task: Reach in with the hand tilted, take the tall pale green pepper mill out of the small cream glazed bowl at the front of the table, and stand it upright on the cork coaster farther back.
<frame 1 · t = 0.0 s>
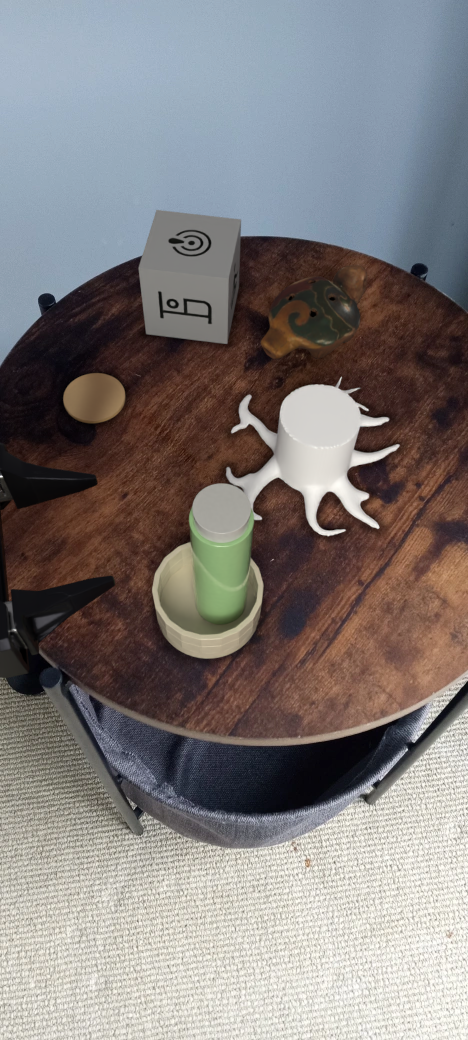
hand: (105, 528, 56), 16 cm above the table, tool horizontal, fingers open, 9 cm apart
coaster: (94, 399, 82), on the table
ocarina: (311, 340, 88), on the table
icon cube: (193, 311, 90), on the table
tree stump: (308, 460, 79), on the table
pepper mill: (220, 600, 68), point 1 cm above the table, touching bowl
bowl: (208, 609, 70), on the table
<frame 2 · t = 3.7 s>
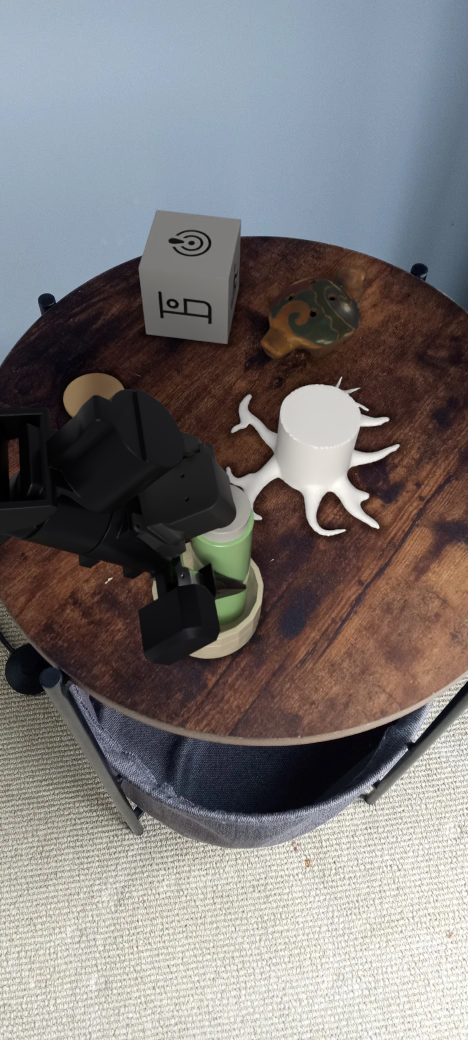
hand: (236, 562, 62), 9 cm above the table, tool tilted 45°, fingers closed on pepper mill, 5 cm apart
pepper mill: (220, 600, 68), point 2 cm above the table, touching bowl, gripper
everything else where it was.
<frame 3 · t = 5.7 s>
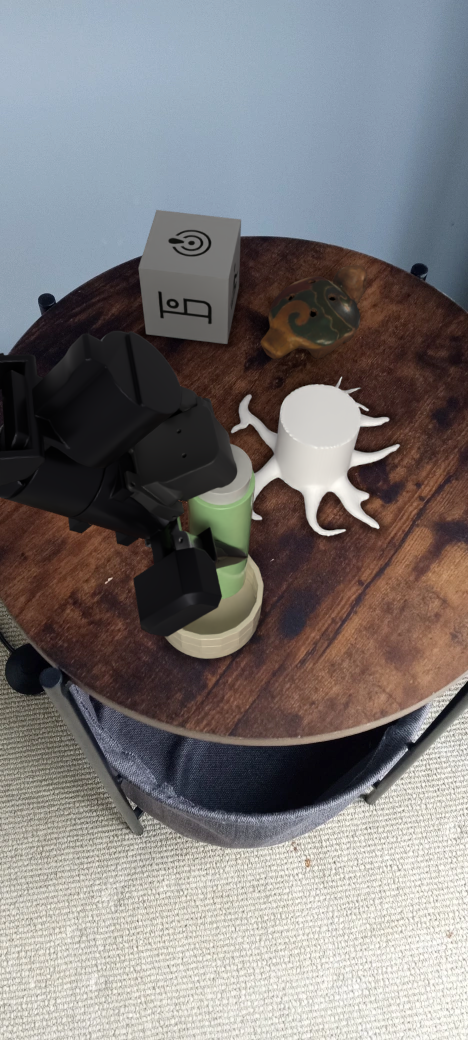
hand: (236, 530, 59), 13 cm above the table, tool tilted 45°, fingers closed on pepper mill, 5 cm apart
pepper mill: (218, 574, 65), point 6 cm above the table, touching gripper
everything else where it was.
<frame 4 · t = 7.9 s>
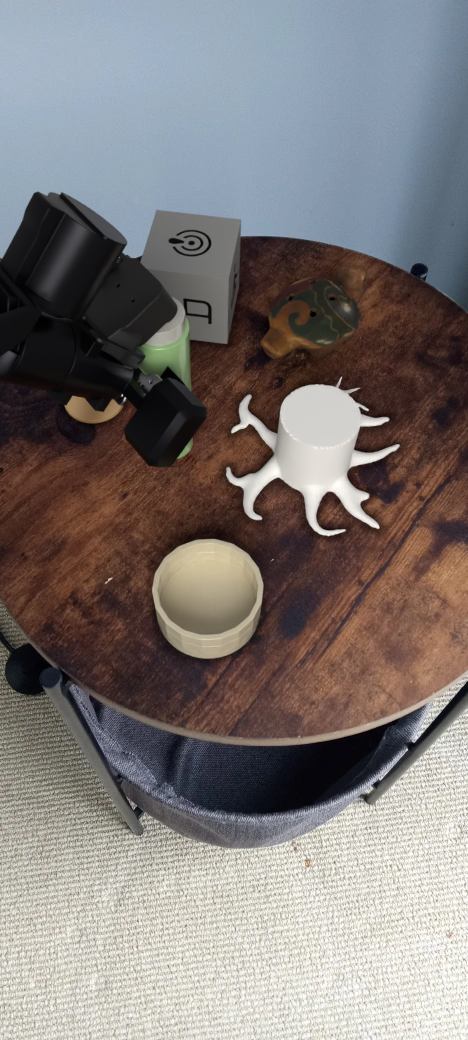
hand: (176, 384, 66), 13 cm above the table, tool tilted 45°, fingers closed on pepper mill, 5 cm apart
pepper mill: (168, 440, 72), point 6 cm above the table, touching gripper
everything else where it was.
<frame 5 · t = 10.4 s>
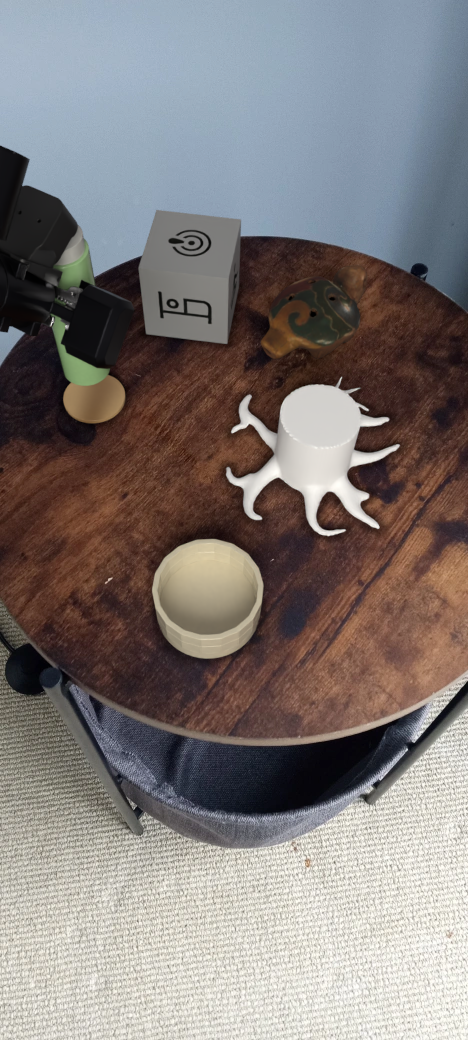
hand: (83, 307, 72), 13 cm above the table, tool tilted 45°, fingers closed on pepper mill, 5 cm apart
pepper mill: (86, 368, 78), point 5 cm above the table, touching gripper
everything else where it was.
when the fingers open (8 cm above the table, at t = 12.2 s): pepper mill stays where it is, resting on coaster.
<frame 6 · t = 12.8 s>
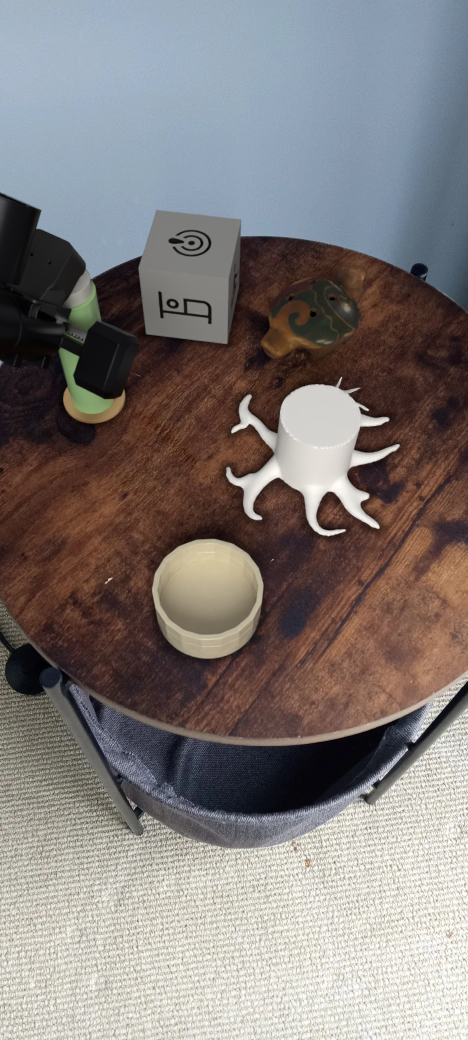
hand: (91, 337, 76), 9 cm above the table, tool tilted 45°, fingers open, 9 cm apart
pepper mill: (93, 397, 82), resting on coaster
everything else where it was.
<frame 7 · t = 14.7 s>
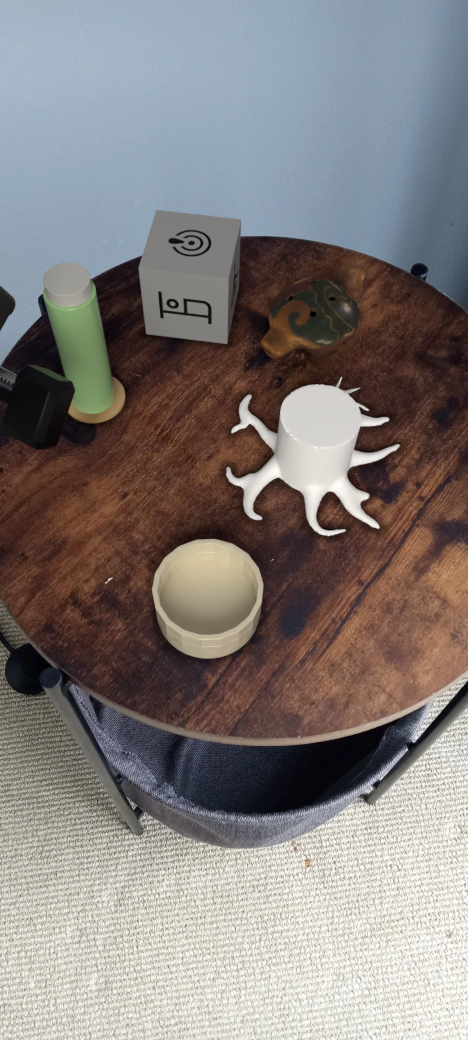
hand: (31, 375, 69), 11 cm above the table, tool tilted 45°, fingers open, 9 cm apart
nothing on the table moved.
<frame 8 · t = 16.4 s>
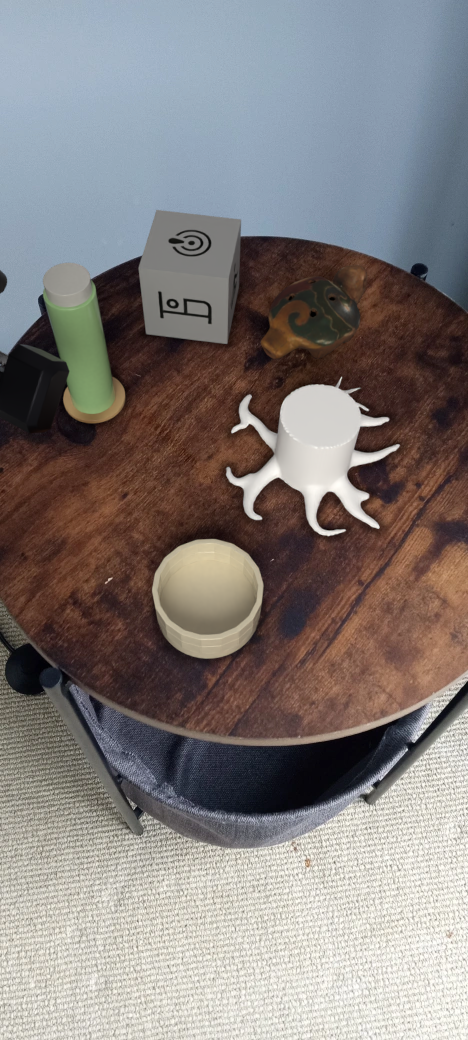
hand: (25, 358, 67), 14 cm above the table, tool tilted 45°, fingers open, 9 cm apart
nothing on the table moved.
at the end: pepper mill 0.1 cm off-centre on the coaster, point 0.5 cm above the coaster's base; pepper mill tilted 0°; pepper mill touching coaster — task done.
